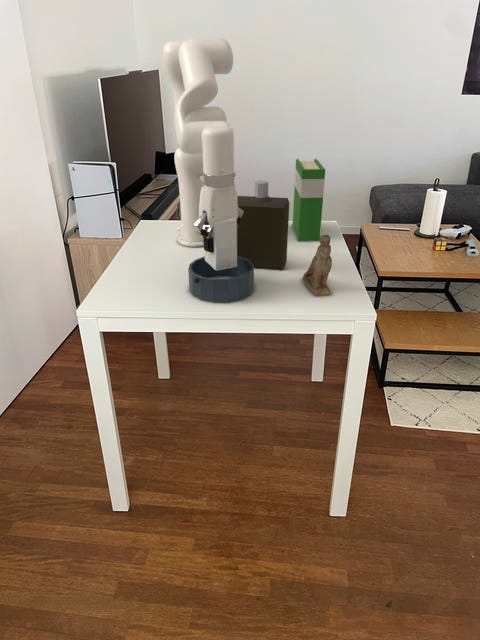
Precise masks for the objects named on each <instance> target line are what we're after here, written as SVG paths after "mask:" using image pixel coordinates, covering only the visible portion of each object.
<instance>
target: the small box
mask: <svg viewBox="0 0 480 640" xmlns="http://www.w3.org/2000/svg"><path fill="white" fill-rule="evenodd" d="M208 231H209V228H208V230H207V232H208ZM211 237H212V238H213V248H214V251H213V252H212V253H210V252H208V251H205V250H204V249H203V250H204V251H203V252H204V256H205V261H206V262H207V263H208V264H209V265H210V266H212V267H213V268H214V269H215V270H216V271H218V270H223V269H228V268H233V267H237V220H236V219H234V218H233V217H232V218H229V219H225V220H222V221H219V222H216V223H214V228H213V234H212V236H211Z"/></svg>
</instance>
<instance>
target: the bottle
mask: <svg viewBox="0 0 480 640" xmlns="http://www.w3.org/2000/svg"><path fill="white" fill-rule="evenodd" d="M237 199H238V207H239V208H240V209H242V210H243V211H244V213H243V215H242V217H241V221H240V223H239V224H238V229H237V256H240V257H243V258H248V259H249V260H250V261H251V262H252V263H253V264H254V269H255V268H256V269H271V270H284V268H285V267H286V265H287V261H288V243H289V242H288V241H289V221H290V220H289V219H290V200H289V197H276V196H269V181H268V180H262V179H261V180H255V181H254V195H252V196H250V195H237Z"/></svg>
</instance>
